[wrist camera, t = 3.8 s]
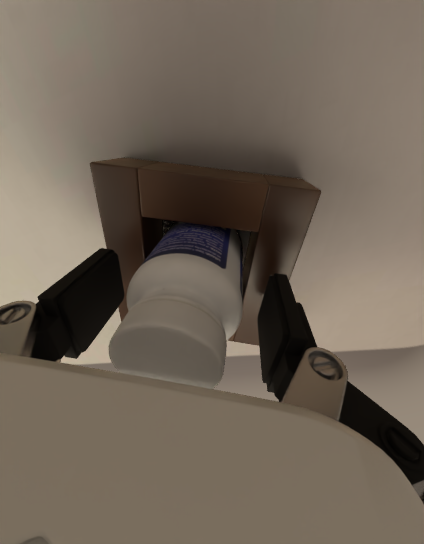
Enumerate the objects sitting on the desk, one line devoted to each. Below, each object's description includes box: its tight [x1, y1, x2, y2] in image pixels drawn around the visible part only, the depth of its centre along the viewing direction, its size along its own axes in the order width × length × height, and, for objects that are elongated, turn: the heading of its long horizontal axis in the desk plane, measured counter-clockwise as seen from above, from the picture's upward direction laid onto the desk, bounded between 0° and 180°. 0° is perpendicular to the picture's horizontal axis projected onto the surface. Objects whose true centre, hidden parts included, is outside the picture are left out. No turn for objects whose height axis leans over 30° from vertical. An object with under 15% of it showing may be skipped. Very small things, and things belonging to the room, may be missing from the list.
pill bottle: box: [109, 221, 243, 389], centre depth 11 cm, size 5×5×9 cm
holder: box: [90, 157, 321, 345], centre depth 13 cm, size 10×10×3 cm
